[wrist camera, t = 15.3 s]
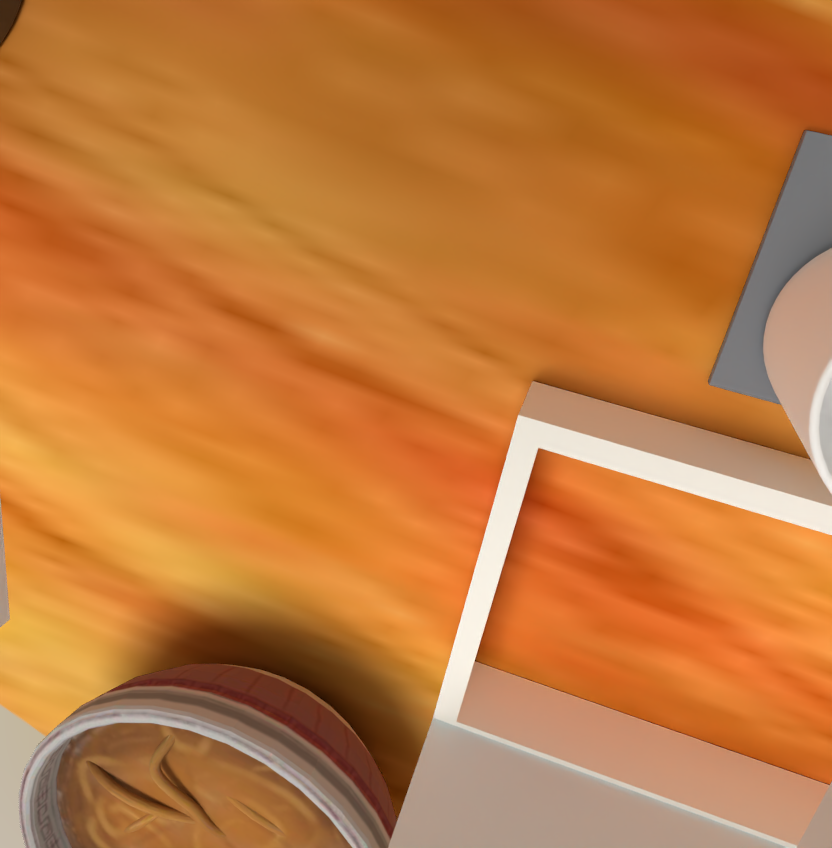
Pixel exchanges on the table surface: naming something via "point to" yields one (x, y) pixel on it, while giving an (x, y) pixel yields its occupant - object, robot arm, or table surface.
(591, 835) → the cold frame
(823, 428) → the mug
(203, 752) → the bowl
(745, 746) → the table surface
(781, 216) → the slate mat
